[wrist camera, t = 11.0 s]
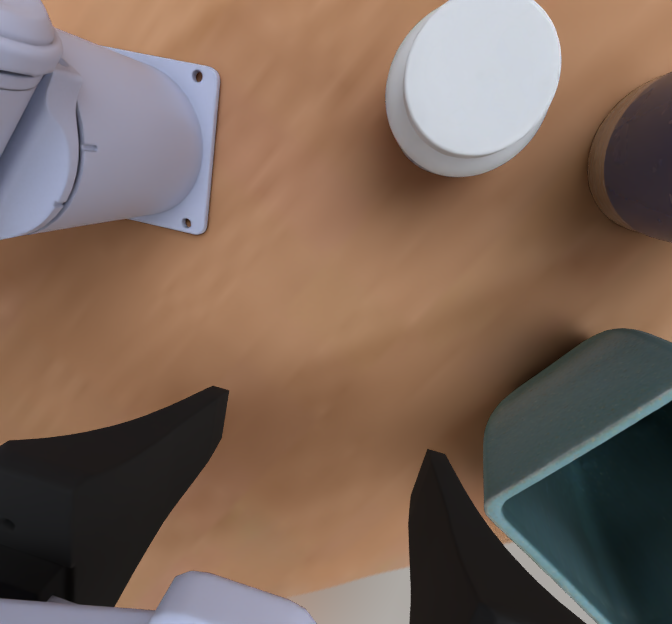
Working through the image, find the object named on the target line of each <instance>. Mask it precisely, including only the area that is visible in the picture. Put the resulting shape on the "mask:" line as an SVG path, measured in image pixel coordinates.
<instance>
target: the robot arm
mask: <svg viewBox="0 0 672 624" xmlns="http://www.w3.org/2000/svg"><path fill="white" fill-rule="evenodd" d="M198 72H201V73H202V76H203V77H202V80H201V81H200V82H197V80H196V75H197V73H198ZM219 91H220V76H219V73H218V72H217V71H216V70H215V69H213V68H211V67H209V66H204V65H199V64H194V63H189V62H184V61H178V60H173V59H168V58H163V57H157V56H152V55H147V54H142V53H137V52H131V51H126V50H121V49H116V48H111V47H105V46H100V45H97V44H95V43H92V42H90V41H87V40H85V39H82V38H80V37H77V36H75V35H72V34H70V33H67V32H65V31H62V30H60V29H57V28H55V27H53V25H52V23H51V20H50V18H49V15H48V13H47V11H46V8H45V7H44V5H43V3H42V2H41V0H0V240H2V239H6V238H12V237H18V236H24V235H30V234H36V233H42V232H48V231H54V230H60V229H66V228H72V227H78V226H84V225H90V224H96V223H103V222H109V221H115V220H121V219H130V220H135V221H139V222H143V223H148V224H152V225H156V226H160V227H165V228H169V229H173V230H178V231H182V232H186V233H190V234H195V235H199V234H202V233H204V232H205V231H206V229H207V223H208V212H209V201H210V190H211V179H212V168H213V157H214V146H215V135H216V124H217V113H218V102H219ZM186 219H189V220H190V221H191V226H190V227H188V226H187V225H186V222H185V221H186ZM228 395H229V390H226V389H223V388H219V387H216V386H212V387H209V388H207V389H205V390H203V391H201V392H198V393H196V394H194V395H192V396H190V397H188V398H186V399H184V400H181V401H179V402H177V403H175V404H173V405H170V406H168V407H166V408H163V409H161V410H158V411H156V412H153V413H151V414H148V415H146V416H143V417H140V418H137V419H134V420H131V421H128V422H124V423H121V424H118V425H114V426H110V427H106V428H101V429H97V430H92V431H88V432H83V433H77V434H71V435H65V436H58V437H50V438H39V439H26V440H10V441H7V442H6V443H4V444H3V445H1V446H0V624H317V623H316V622H315V621H314V619H313V618H312V617H311V615H310V614H309V613H308V611H307V610H306V609H305V608H303V607H302V606H300V605H298V604H296V603H295V602H293V601H291V600H289V599H286V598H283V597H280V596H277V595H274V594H271V593H268V592H265V591H262V590H259V589H256V588H253V587H250V586H247V585H244V584H241V583H238V582H236V581H233V580H230V579H227V578H224V577H221V576H218V575H215V574H212V573H207V572H199V571H189V572H186V573H184V574H181V575H178V576H176V577H175V578H174V580H173V582H172V583H171V585H170V587H169V588H168V590H167V592H166V594H165V595H164V597H163V599H162V600H161V602H160V604H159V606H158V607H157V609H156V610H144V609H131V608H118V607H115V605H116V603H117V601H118V599H119V598H120V596H121V594H122V592H123V590H124V589H125V587H126V585H127V583H128V581H129V580H130V578H131V576H132V574H133V573H134V571H135V569H136V567H137V566H138V564H139V562H140V560H141V559H142V557H143V555H144V554H145V552H146V550H147V548H148V547H149V545H150V543H151V542H152V540H153V539H154V537H155V535H156V534H157V532H158V530H159V529H160V527H161V525H162V524H163V522H164V521H165V519H166V518H167V516H168V515H169V513H170V512H171V511H172V509H173V508H174V507H175V505H176V504H177V503H178V501H179V500H180V499H181V497H182V496H183V495H184V493H185V492H186V491H187V489H188V488H189V487H190V485H191V484H192V483H193V481H194V480H195V479H196V477H197V476H198V475H199V473H200V472H201V471H202V469H203V468H204V467H205V465H206V464H207V463H208V461H209V460H210V458H211V456H212V454H213V453H214V451H215V449H216V447H217V446H218V444H219V442H220V440H221V438H222V433H223V427H224V420H225V414H226V408H227V401H228ZM408 528H409V556H410V580H411V607H410V624H586V623H585V622H583V621H582V620H581V619H580V618H579V617H577V616H576V615H575V614H574V613H572V612H571V611H570V610H569V609H568V608H566V607H565V606H564V605H563V604H561V603H560V602H559V601H558V600H557V599H556V598H554V597H553V596H552V595H551V594H550V593H549V592H548V591H547V590H546V589H545V588H543V587H542V586H541V585H540V584H539V583H538V582H537V581H536V580H535V579H534V578H533V577H532V576H531V575H530V574H529V573H528V572H527V571H526V570H525V569H524V568H523V567H522V566H521V564H520V563H519V562H518V561H517V560H515V558H514V557H513V556H512V555H511V553H510V552H509V551H508V550H507V549H506V548H505V547H504V545H503V544H502V543H501V542H500V540H499V539H498V538H497V537H496V535H495V534H494V533H493V532H492V530H491V529H490V528H489V526H488V525H487V523H486V522H485V521H484V519H483V518H482V516H481V515H480V513H479V512H478V510H477V509H476V507H475V506H474V504H473V503H472V501H471V499H470V498H469V496H468V494H467V493H466V491H465V489H464V488H463V486H462V484H461V482H460V480H459V479H458V477H457V475H456V473H455V471H454V469H453V468H452V466H451V464H450V462H449V460H448V458H447V457H446V455H445V454H443V453H440V452H436V451H433V450H429V449H427V452H426V455H425V457H424V460H423V463H422V466H421V468H420V471H419V474H418V477H417V480H416V482H415V485H414V488H413V491H412V494H411V499H410V509H409V522H408Z"/></svg>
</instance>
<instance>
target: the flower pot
mask: <svg viewBox="0 0 672 624" xmlns="http://www.w3.org/2000/svg"><path fill="white" fill-rule="evenodd" d="M483 478H484V511H485V513H486V515H487V516H488V517H489V518H490V520H491V521H492V522H493V523H494V524H495V525H496V526H497V527H498V528H500V529H501V530H502V531H503V532H504V533H505V534H506V535H507V536H508V537H509V538H510V539H511V540H512V541H513V542H514V543H515V544H517V546H518V547H519V548H520V549H522V550H523V551H524V552H525V553H526V554H527V555H528V556H529V557H530V558H531V559H532V560H533V561H534V562H535V563H536V564H537V565H538V566H539V567H540V568H541V569H542V570H543V571H544V572H545V573H546V574H547V575H549V576H550V577H551V578H552V579H553V580H554V581H555V582H556V583H557V584H558V585H559V586H560V587H561V588H562V589H563V590H564V591H565V592H566V593H567V594H568V595H569V596H570V597H571V598H572V599H573V600H574V601H575V602H576V603H577V604H578V605H579V606H580V607H581V608H582V609H583V610H584V611H585V612H586V613H587V614H588V615H589V616H590V617H591V618H592V619H593V620H594V621H595V622H596V623H597V624H672V343H671V342H669V341H667V340H664V339H662V338H659V337H657V336H654V335H652V334H649V333H646V332H643V331H639V330H634V329H625V328H621V329H611V330H607V331H604V332H601V333H598V334H596V335H594V336H592V337H591V338H589V339H587V340H585V341H583V342H582V343H581V344H579V345H578V346H576V347H575V348H574V349H572V350H571V351H569V352H568V353H567V354H565V355H564V356H562V357H561V358H560V359H558V360H557V361H555V362H554V363H553V364H551V365H550V366H548V367H547V368H545V369H544V370H543V371H541V372H540V373H538V374H537V375H535V376H534V377H533V378H531V379H530V380H528V381H527V382H525V383H524V384H522V385H521V386H520V387H518V388H517V389H515V390H514V391H513V392H512V393H511V394H509V395H508V396H507V397H506V398H505V399H504V400H503V401H501V403H500V404H499V405H498V406H497V407H496V408H495V410H494V411H493V413H492V414H491V416H490V418H489V420H488V422H487V425H486V428H485V432H484V441H483Z"/></svg>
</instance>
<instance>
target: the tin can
mask: <svg viewBox="0 0 672 624" xmlns="http://www.w3.org/2000/svg"><path fill="white" fill-rule="evenodd" d="M587 173H588V182H589V186H590V190H591V193H592V195H593V198H594V200H595V202H596V203H597V205H598V207H599V208H600V209H601V210H602V212H603V213H604V214H605V215H606V216H607V217H608V218H610V219H611V220H612V221H613V222H615V223H617V224H618V225H620V226H622V227H624V228H627V229H629V230H633V231H636V232H640V233H642V234H645V235H647V236H649V237H653V238H656V239H660V240H663V241H667V242H670V243H672V72H670V73H668V74H666V75H663V76H660V77H658V78H656V79H653V80H651V81H649V82H647V83H645V84H643V85H641V86H640V87H638V88H637V89H635V90H634V91H632V92H631V93H629V94H628V95H627V96H626V97H625V98H623V99H622V100H621V101H620V102H619V103H618V104H617V105H616V106H615V107H614V108H613V109H612V110H611V111H610V113H609V114H608V115H607V117H606V118H605V119H604V121H603V122H602V124H601V126H600V128H599V129H598V131H597V133H596V135H595V138H594V140H593V143H592V146H591V149H590V153H589V159H588V171H587Z"/></svg>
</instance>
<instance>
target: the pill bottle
mask: <svg viewBox="0 0 672 624" xmlns="http://www.w3.org/2000/svg"><path fill="white" fill-rule="evenodd" d="M560 71H561V48H560V43H559V39H558V36H557V32H556V29H555V27H554V25H553V23H552V21H551V19H550V18H549V16H548V15H547V13H546V12H545V11H544V10H543V8H542V7H541V6H540V5H539V4H537V3H536V2H535V1H534V0H449V1H448V2H446V3H445V4H443V5H442V6H440V7H439V8H437V9H435V10H434V11H432V12H431V13H429V14H428V15H427V16H425V17H424V18H423V19H422V20H421V21H419V22H418V23H417V24H416V25H415V27H414V28H413V29H412V30H411V31H410V32H409V33H408V35H407V36H406V37H405V39H404V40H403V42H402V43H401V45H400V47H399V48H398V50H397V52H396V54H395V56H394V59H393V61H392V63H391V67H390V70H389V74H388V78H387V84H386V94H385V100H386V101H385V102H386V111H387V117H388V121H389V125H390V128H391V131H392V133H393V135H394V137H395V140H396V141H397V143H398V144H399V146H400V148H401V150H402V151H403V153H404V154H405V156H406V157H407V158H408V159H409V160H410V161H411V162H413V163H414V164H415V165H417V166H418V167H420V168H421V169H424V170H426V171H428V172H431V173H435V174H438V175H442V176H447V177H468V176H474V175H479V174H483V173H485V172H488V171H491V170H493V169H495V168H497V167H499V166H501V165H503V164H504V163H506V162H508V161H509V160H511V159H512V158H513V157H514V156H516V155H517V154H518V153H519V152H520V151H521V150H522V149H523V148H524V147H525V146H526V145H527V144H528V143H529V142H530V140H531V139H532V138H533V137H534V135H535V134H536V132H537V131H538V129H539V127H540V126H541V124H542V122H543V120H544V118H545V116H546V113H547V111H548V108H549V106H550V104H551V102H552V99H553V97H554V95H555V92H556V89H557V86H558V82H559V78H560Z"/></svg>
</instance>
